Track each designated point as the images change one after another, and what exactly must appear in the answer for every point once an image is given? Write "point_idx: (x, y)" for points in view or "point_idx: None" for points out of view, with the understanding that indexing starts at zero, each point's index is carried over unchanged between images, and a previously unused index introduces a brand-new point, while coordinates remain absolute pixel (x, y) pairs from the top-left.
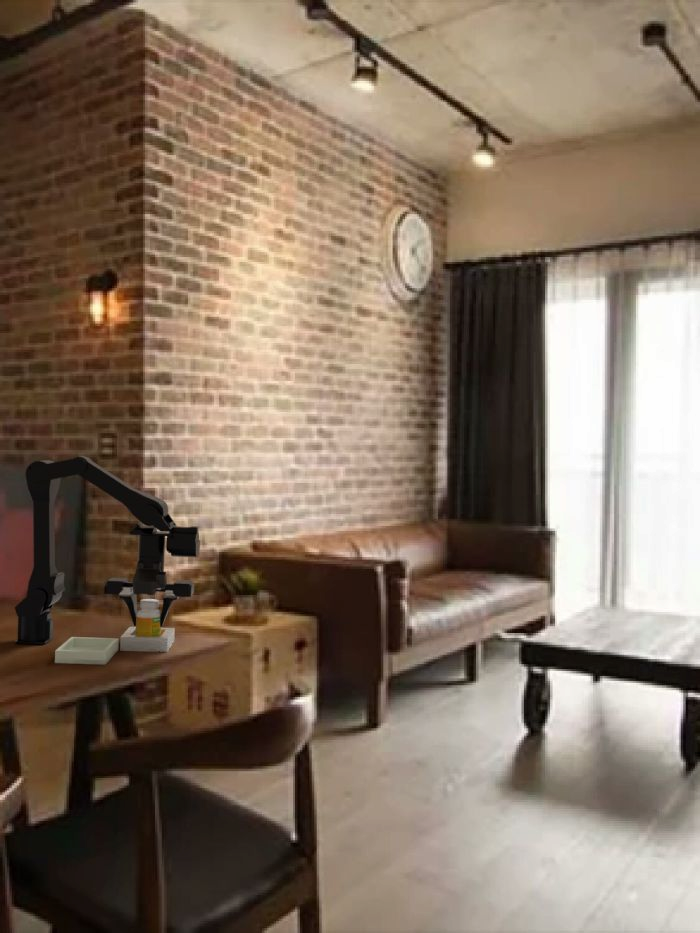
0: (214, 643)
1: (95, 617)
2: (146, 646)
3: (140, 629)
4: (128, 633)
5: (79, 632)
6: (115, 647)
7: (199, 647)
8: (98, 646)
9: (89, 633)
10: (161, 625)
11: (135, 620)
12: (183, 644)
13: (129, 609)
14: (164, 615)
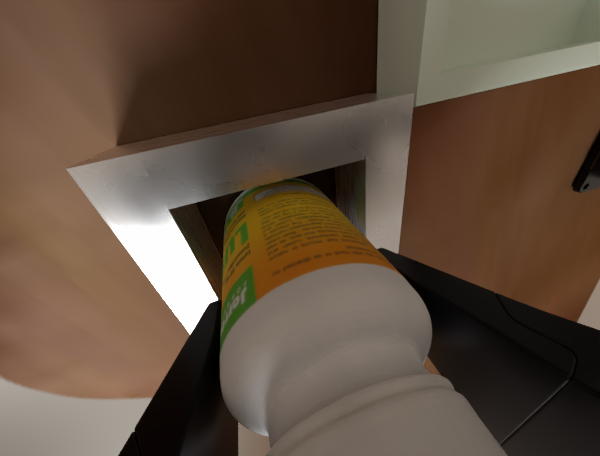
0: (37, 362)
1: None
2: (237, 122)
3: (326, 212)
4: (381, 193)
5: (494, 270)
6: (399, 5)
7: (35, 293)
8: (474, 64)
9: (473, 273)
10: (211, 305)
11: (394, 265)
12: (151, 299)
13: (524, 306)
14: (167, 390)
